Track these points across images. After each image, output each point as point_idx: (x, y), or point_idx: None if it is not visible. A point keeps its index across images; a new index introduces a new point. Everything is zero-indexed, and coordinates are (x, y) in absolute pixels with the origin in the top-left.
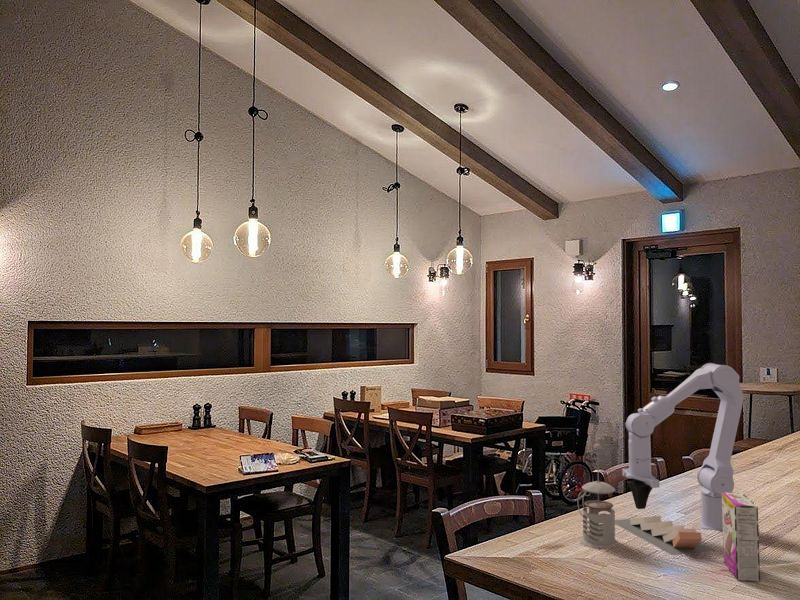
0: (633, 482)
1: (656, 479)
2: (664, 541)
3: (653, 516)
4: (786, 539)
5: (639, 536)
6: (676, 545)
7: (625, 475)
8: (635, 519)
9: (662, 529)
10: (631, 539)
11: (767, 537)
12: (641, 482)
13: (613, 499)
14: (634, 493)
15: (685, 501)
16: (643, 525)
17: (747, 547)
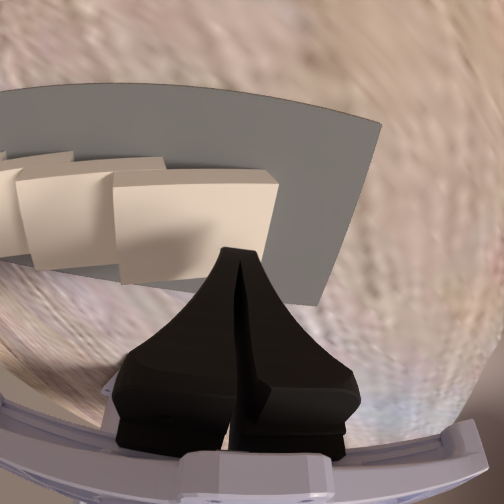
0: (277, 417)
1: (7, 468)
2: (2, 152)
3: (117, 249)
4: (64, 403)
5: (84, 88)
6: None
7: (446, 434)
8: (214, 180)
9: None
10: (86, 39)
11: (73, 396)
12: (149, 439)
13: (497, 324)
14: (249, 317)
15: (357, 427)
16: (131, 166)
17: None
